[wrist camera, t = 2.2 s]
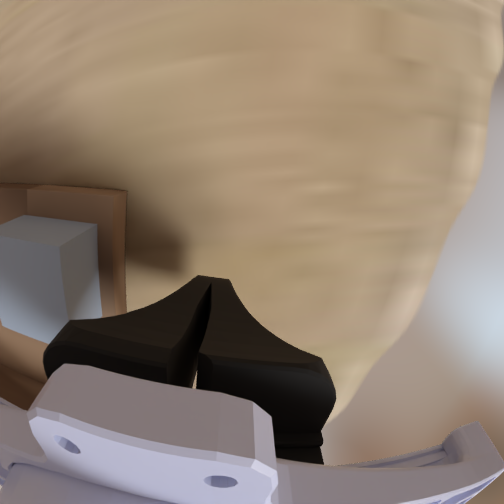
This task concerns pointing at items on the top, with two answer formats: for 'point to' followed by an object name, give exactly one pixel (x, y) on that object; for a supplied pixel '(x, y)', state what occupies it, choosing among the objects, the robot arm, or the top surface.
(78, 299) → the block
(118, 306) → the board
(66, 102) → the top surface
